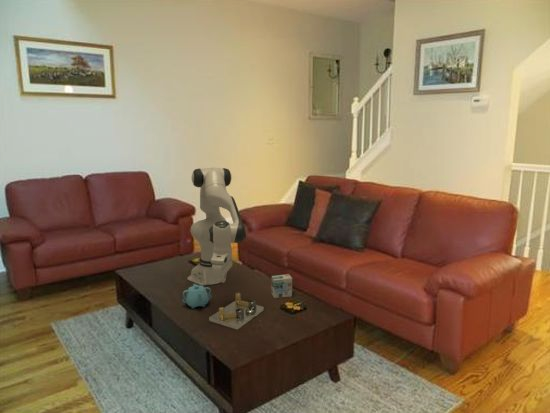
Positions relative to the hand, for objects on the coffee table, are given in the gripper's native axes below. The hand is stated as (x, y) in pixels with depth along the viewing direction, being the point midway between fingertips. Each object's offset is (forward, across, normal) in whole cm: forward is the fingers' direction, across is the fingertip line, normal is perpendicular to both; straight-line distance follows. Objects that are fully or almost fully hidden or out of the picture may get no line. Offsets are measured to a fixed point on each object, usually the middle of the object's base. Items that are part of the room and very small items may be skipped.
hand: (223, 281), depth 206 cm
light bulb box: (+19, -31, +24) cm, 43 cm away
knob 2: (+16, -10, +8) cm, 21 cm away
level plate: (+19, -2, +6) cm, 20 cm away
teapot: (+19, -10, -18) cm, 28 cm away
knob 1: (+16, +4, +5) cm, 18 cm away
